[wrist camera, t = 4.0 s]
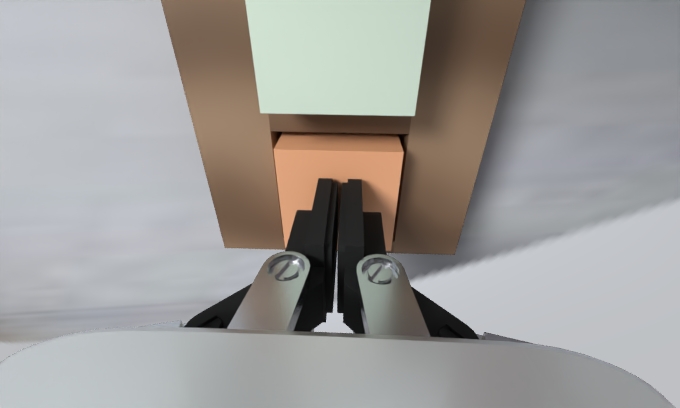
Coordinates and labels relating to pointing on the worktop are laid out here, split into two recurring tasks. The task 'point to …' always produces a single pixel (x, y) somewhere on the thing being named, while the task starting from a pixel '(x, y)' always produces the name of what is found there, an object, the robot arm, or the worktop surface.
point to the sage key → (338, 55)
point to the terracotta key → (339, 172)
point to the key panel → (346, 119)
